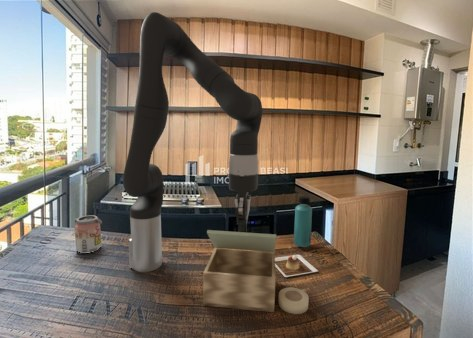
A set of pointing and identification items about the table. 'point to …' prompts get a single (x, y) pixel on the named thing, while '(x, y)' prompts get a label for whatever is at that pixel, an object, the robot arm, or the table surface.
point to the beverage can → (88, 233)
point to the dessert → (294, 264)
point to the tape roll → (293, 300)
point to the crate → (240, 280)
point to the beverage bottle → (303, 223)
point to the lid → (242, 240)
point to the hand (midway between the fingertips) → (242, 235)
